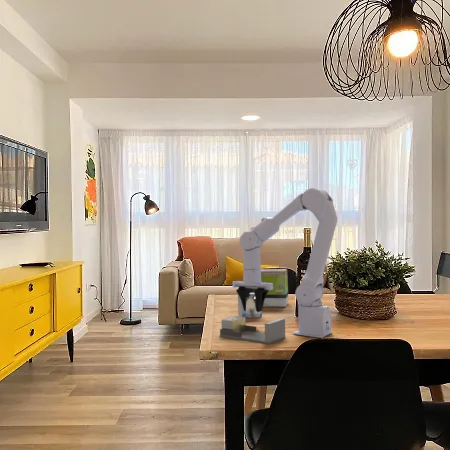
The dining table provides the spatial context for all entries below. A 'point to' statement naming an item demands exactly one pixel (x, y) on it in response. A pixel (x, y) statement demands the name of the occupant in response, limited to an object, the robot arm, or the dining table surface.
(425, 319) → the dining table surface
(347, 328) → the dining table surface
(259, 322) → the dining table surface
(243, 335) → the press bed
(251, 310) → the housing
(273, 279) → the tea box
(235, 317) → the block
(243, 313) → the medicine box
